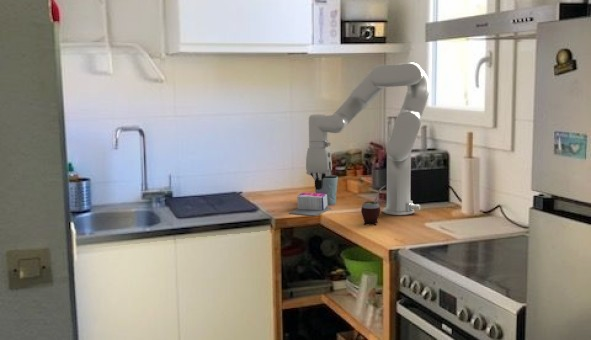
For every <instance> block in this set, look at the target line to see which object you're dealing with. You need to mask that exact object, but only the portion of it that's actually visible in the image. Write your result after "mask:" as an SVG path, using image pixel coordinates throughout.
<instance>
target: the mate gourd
mask: <svg viewBox="0 0 591 340" xmlns="http://www.w3.org/2000/svg"><path fill="white" fill-rule="evenodd" d="M385 187H387V184H385V185H383V186H381V187H380V188H379V189H378V190H377V194H376V196H375V199H374V201H365V202H363V203H362V205H361V209H360V211H361V215H362V219H363V226H366V225H367V226H368V225H372V226H377V224H378V223H379V221H378V220H379V216H380V214H381V206H380V205H379V203H378V202H377V200H378V198H379V195H380V193H381V191H382V189H384V188H385Z"/></svg>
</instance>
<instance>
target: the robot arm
mask: <svg viewBox="0 0 591 340" xmlns="http://www.w3.org/2000/svg"><path fill="white" fill-rule="evenodd" d="M406 86H407V89H406V90H407V91H406V94H405V97H404V101H403V103H402V106H401V107H400V111H399V112H398V114H397V116H396V120H395V122H394V125H393V128H392V131H391V134H390V137H389V138H388V140H387V142H386V148H385V151H386V206H385V207H384V208H382V213H384V214H386V215H392V216H407V215H412V214H414V213H415V210H416V211H420V210H421V205H420V204H419V203H418V204H417V203H416V204H415V203H413V200H411V189H412V188H411V177H412V176H411V173H412V172H411V169H412V166H411V164H412V161H411V160H412V150H413V147H414V144H415V142H416V139H417V137H418V134H419V132H420V128H421V126H422V125H421V124H422V117H423V113H424V110H425V108H426V105H427V102H428V99H429V95H430V82H429V78H428V76H427V74H426V72H425V71H424V70H423V69H422V67H421V66H420V65H419V64H418V63H415V62H404V63H395V64H378V65H376V66H374V67H373V68H372V69H371V71H370V72H369V73H368V74H367V75H366V76H365V77H364V78H363V79H362V80H361V81H360V83H359V84H358V85H357V86H356V87H355V88H354V89H353V90H352V91H351V93H350V95H348V97H347V99H346V100H345V101H344V102H343V103H342V104H341V105H340V106H339V108H338V109H337V110H336V111H335V112H334V113H333V114H331V115H326V114H319V113H317V114H315V113H314V114H311V115H309V117H308V147H307V151H306V157H305V169H306V175H308V176H311V177H312V178H313V180H314V188H315V189H316V190H317V189H318V190H320V189H322V187H323V179H324V178H325V177H326V176H330V175H332V170H333V163H332V154H331V149H330V147H331V142H329V140H328V133H331V134H339V133H341V132H343V131H344V130H345V129H346V128H347V126H349V124H351V122H352V121H353V120H354V119H355V118H356V117H357V116H358V115H359V114H360V113H361V112H362V111H364V110H365V109H366V108H367V107H368V106H369V105H370V104H371V103H372V102H374V100H375V98H377V97H378V96H379V94H380V93H382V91H383V90H385V88H393V87H395V88H396V87H406Z"/></svg>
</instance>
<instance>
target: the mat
mask: <svg viewBox="0 0 591 340" xmlns="http://www.w3.org/2000/svg"><path fill="white" fill-rule="evenodd" d="M331 209H332V207H329V206H328V207H327V208H326V209H325V210H309V209H298V208H296V209H294V210H292V211H289V212H288V214H289V215H297V216H299V215H301V216H306V217H307V216H308V217H309V216H310V217H317V216H318V215H321V214H323V213H326V212H327V211H329V210H331Z"/></svg>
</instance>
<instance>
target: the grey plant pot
mask: <svg viewBox="0 0 591 340" xmlns="http://www.w3.org/2000/svg"><path fill="white" fill-rule="evenodd" d="M338 179H339V177H338V175H333V174H331V175H330V176H326V177H325V178H324V179H323V187H322V189H320V190H318V189H317V190H316V189H315V193H320V194H327V203H328V207H330V206H335V205H336V204H337V191H338V189H337V188H338V182H339V181H338Z"/></svg>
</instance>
